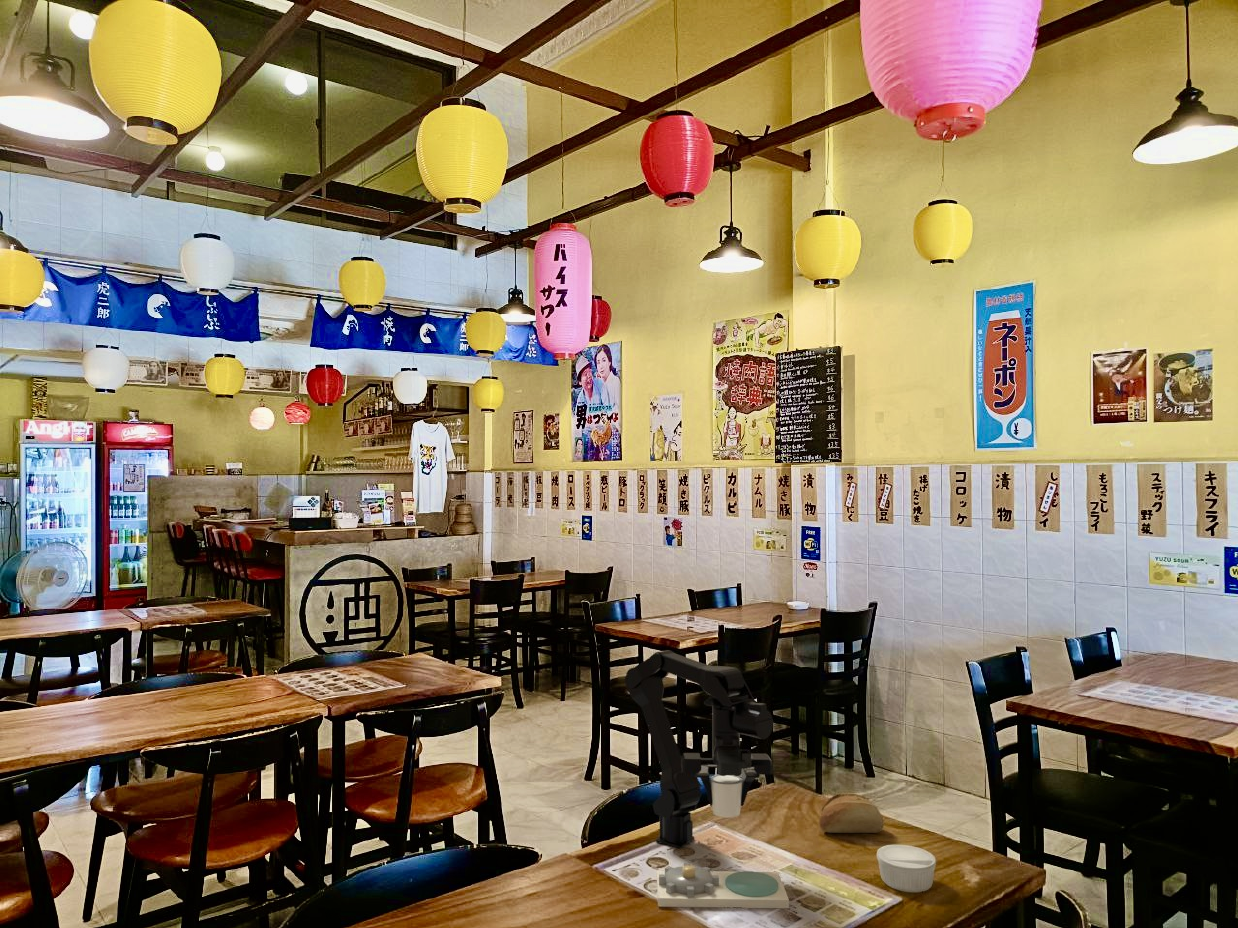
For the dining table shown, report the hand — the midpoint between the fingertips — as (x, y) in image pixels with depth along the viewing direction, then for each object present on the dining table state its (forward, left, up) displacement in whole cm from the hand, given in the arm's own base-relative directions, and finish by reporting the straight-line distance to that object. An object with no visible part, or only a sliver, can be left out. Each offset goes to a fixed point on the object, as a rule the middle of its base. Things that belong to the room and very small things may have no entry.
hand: (726, 805), depth 174 cm
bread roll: (+16, +31, -12) cm, 37 cm away
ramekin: (+34, +11, -12) cm, 37 cm away
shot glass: (0, 0, -2) cm, 2 cm away
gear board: (+6, -14, -11) cm, 19 cm away
